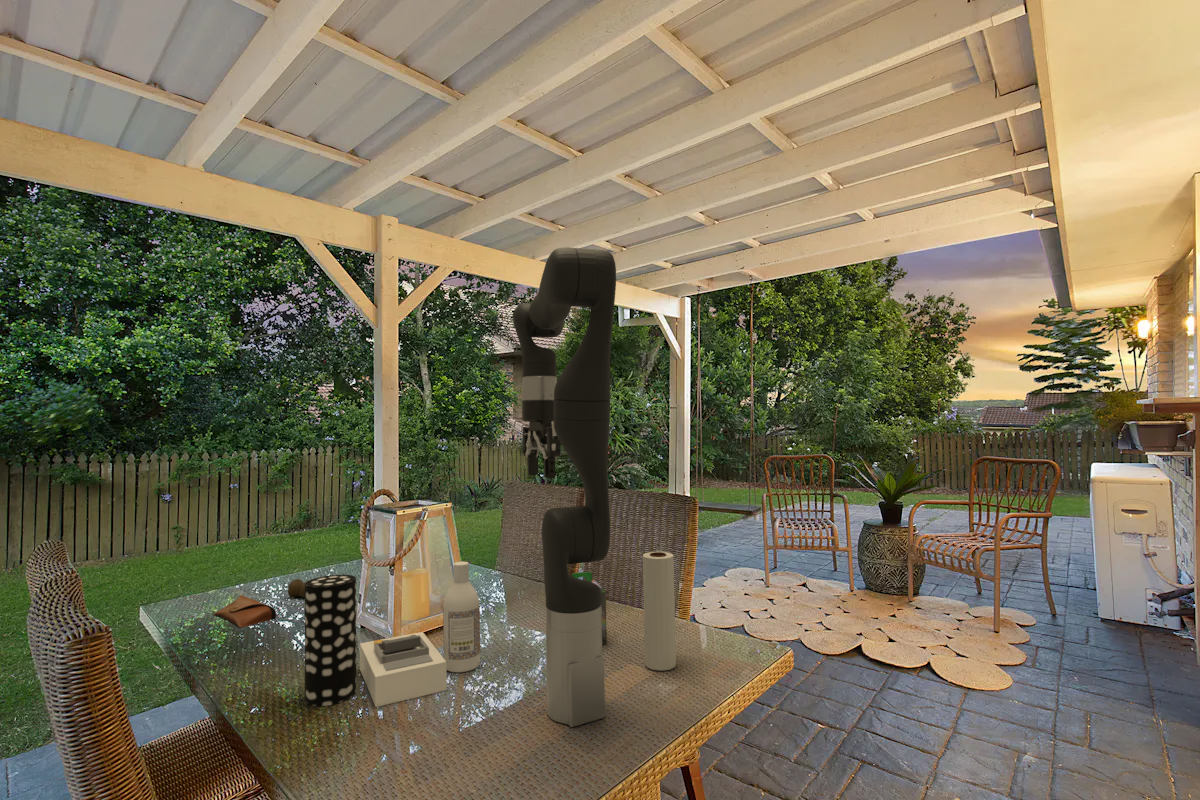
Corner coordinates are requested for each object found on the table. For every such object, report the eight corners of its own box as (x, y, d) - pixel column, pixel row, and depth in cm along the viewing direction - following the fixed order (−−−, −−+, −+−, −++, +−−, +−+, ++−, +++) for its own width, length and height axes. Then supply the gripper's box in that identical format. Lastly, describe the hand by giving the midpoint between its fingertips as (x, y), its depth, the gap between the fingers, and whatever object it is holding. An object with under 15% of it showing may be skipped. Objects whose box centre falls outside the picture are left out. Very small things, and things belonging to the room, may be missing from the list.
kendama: (308, 593, 172) (364, 597, 165) (279, 604, 163) (337, 609, 156) (307, 572, 172) (363, 576, 165) (278, 582, 163) (336, 586, 156)
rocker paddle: (420, 646, 111) (420, 636, 112) (386, 652, 108) (386, 643, 109) (414, 643, 115) (414, 634, 116) (382, 649, 112) (381, 640, 113)
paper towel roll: (665, 674, 112) (663, 558, 113) (638, 666, 116) (636, 555, 116) (684, 661, 118) (682, 551, 118) (658, 654, 121) (656, 548, 122)
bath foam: (486, 666, 117) (485, 563, 118) (453, 676, 113) (452, 569, 113) (470, 656, 122) (469, 557, 123) (437, 665, 118) (437, 562, 119)
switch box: (446, 690, 107) (446, 654, 107) (375, 707, 101) (375, 669, 101) (422, 656, 123) (422, 625, 123) (360, 669, 117) (359, 637, 117)
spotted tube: (300, 709, 101) (300, 588, 101) (310, 688, 109) (309, 576, 109) (353, 702, 103) (352, 584, 104) (359, 682, 111) (358, 573, 112)
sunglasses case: (208, 614, 153) (223, 588, 155) (234, 622, 157) (248, 596, 160) (240, 628, 142) (255, 600, 145) (267, 636, 146) (281, 608, 149)
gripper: (571, 397, 121) (572, 477, 121) (542, 400, 134) (543, 473, 133) (537, 397, 118) (538, 480, 117) (510, 400, 130) (511, 475, 129)
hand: (541, 476), depth 125 cm, fingers open, 8 cm apart
